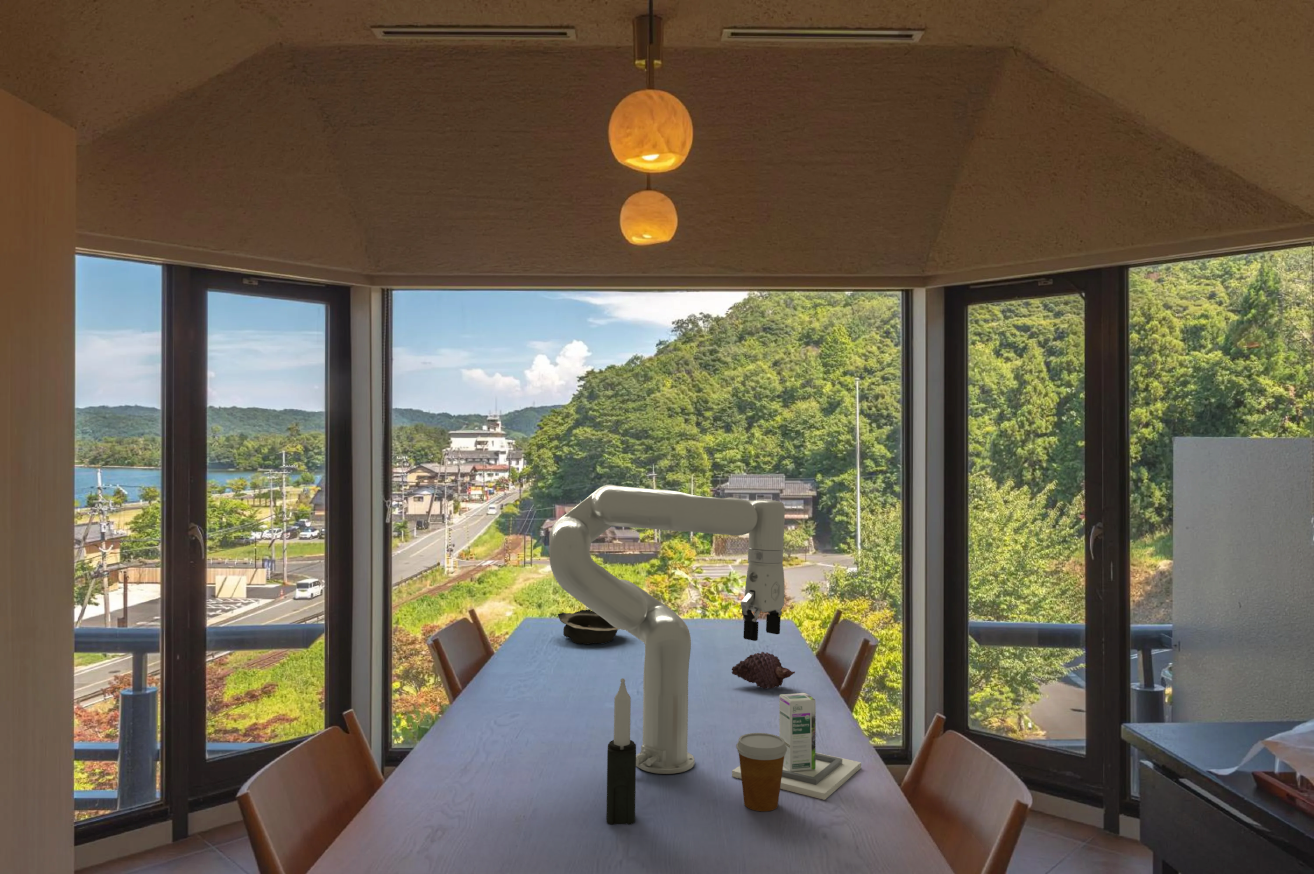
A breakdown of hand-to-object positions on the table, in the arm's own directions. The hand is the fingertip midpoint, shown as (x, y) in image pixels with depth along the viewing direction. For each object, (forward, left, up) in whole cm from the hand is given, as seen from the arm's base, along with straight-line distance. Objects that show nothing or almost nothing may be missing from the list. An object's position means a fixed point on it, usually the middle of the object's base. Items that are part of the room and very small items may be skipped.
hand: (761, 636), depth 182 cm
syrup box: (-2, -9, -25) cm, 27 cm away
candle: (-41, +7, -27) cm, 50 cm away
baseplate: (-2, -10, -26) cm, 28 cm away
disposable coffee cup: (-21, -11, -27) cm, 36 cm away
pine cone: (+51, +24, -27) cm, 62 cm away
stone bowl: (+71, +100, -27) cm, 126 cm away
